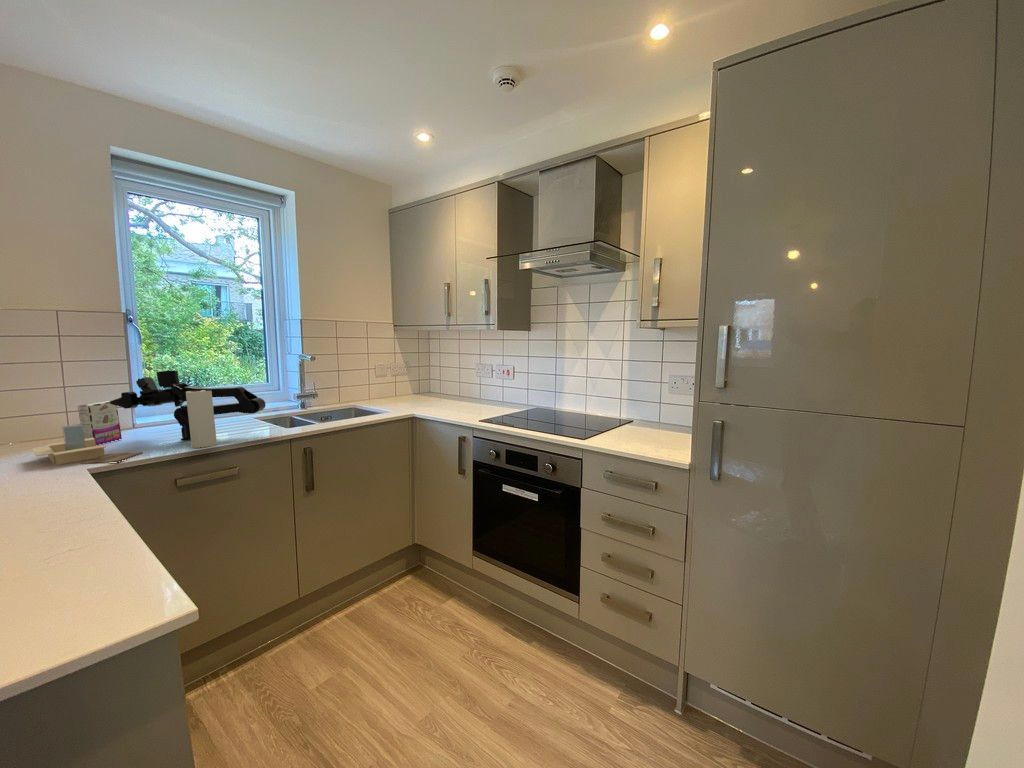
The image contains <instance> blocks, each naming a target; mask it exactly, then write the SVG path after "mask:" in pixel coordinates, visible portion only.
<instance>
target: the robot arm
mask: <svg viewBox="0 0 1024 768" xmlns="http://www.w3.org/2000/svg"><path fill="white" fill-rule="evenodd" d="M155 373H156V378H157V381H158V383H157V384H158V386H159V387H160V388H161V387H162V388H163V389H162V388H161V389H158V386H157V384H156V383H155V381H154V379H153V378H152V377H151V376H149V377H147V376H144V377H142V378H138V379H137V380H136V382H135V383H136V385H137V386H138V388H139V389H140V391H139V396H138V393H136V392H135V391H124V392H121V397H118V398H116V399H113V400H109V401H110V404H112V405H116V406H117V407H121V408H123V409H125V410H126V409H135V408H137V407H138V406H139V405H140V406H142V407H155V406H162V405H164V404H171V403H174V407H176V409H175V410H174V412H173V417H174V419H176V421H177V422H178V425H179V426H180V427H181V429H180V431H181V437H182V438H180V441H186V440H187V439H191V436H190V427H189V418H188V409H187V403H186V404H184V403H185V402H187V399H186V392H187V391H193V390H206V391H212V398H232V397H233V398H235V400H237V402H235V403H233V402H231V403H226V404H217V405H214V404H213V411H214V416H217V415H226V414H231V413H232V414H234V413H235V414H236V413H241V414H256V413H259V412H261V411H263V410H264V409H265V407H266V401H265V400H264V399H263V398H261V397H258V396H257V395H255V394H254V393H252V392H250V391H249V390H247V389H246V388H244V387H243V386H237V387H236V386H235V387H203V386H198V385H190V384H188V383H186V382H183V381H182V382H180V379H179V370H178V369H175V370H173V369H171V370H162V371H156V372H155ZM187 441H188V440H187Z"/></svg>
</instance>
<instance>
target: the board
mask: <svg viewBox="0 0 1024 768" xmlns="http://www.w3.org/2000/svg"><path fill="white" fill-rule="evenodd" d="M139 454H140V455H142V454H143V451H139V452H138V451H137V452H136V451H135V452H119V453H117V452H116V453H115V452H114V453H106V454H105V455H104V456H100V457H97V458H94V459H88V460H84V461H82V462H80V465H94V464H95V465H96V464H105V463H106V462H119V461H122V460H125V459H126V460H127V459H128V458H129V459H131V458H134V457H137V456H139ZM136 455H137V456H136ZM133 456H134V457H133ZM130 457H131V458H130Z"/></svg>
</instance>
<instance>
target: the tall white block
mask: <svg viewBox="0 0 1024 768" xmlns="http://www.w3.org/2000/svg"><path fill="white" fill-rule="evenodd" d="M186 399H187V401H186V404H187V409H188V418H189V427H190V436H191V440H190V444H191V448H192V447H193V449H200V447H201V448H207V447H211V446H212V445H213V446H217V445H218V441H217V431H216V424H215V423H216V421H215V415H214V411H213V406H214V401H213V397H212V391H206V390H193V391H187V392H186Z"/></svg>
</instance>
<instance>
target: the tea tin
mask: <svg viewBox="0 0 1024 768" xmlns="http://www.w3.org/2000/svg"><path fill="white" fill-rule="evenodd" d="M61 427H62V428H61V430H62V435H63V437H62V438H63V442H64V444H65V451H68V450H74V449H81V448H86V446H85V438H84V431H83V425H81V424H70V425H62V426H61Z"/></svg>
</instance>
